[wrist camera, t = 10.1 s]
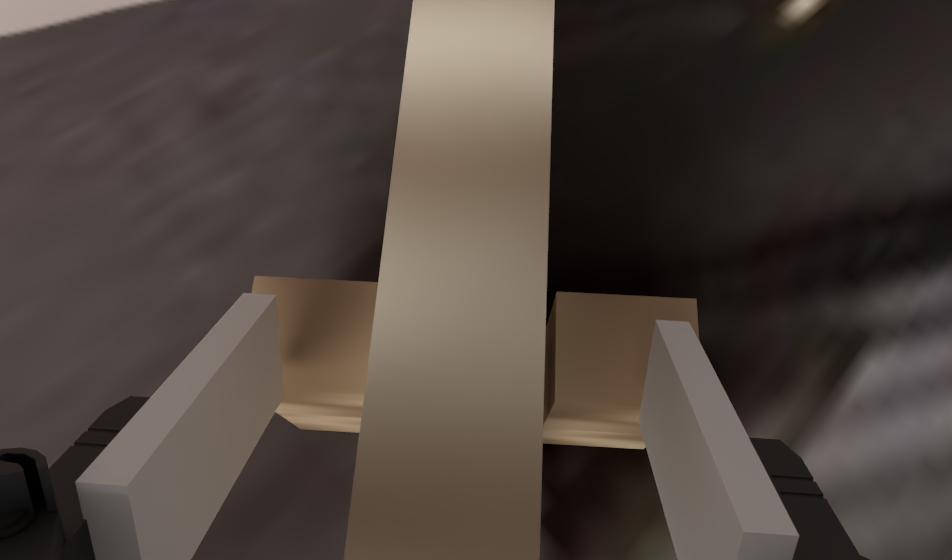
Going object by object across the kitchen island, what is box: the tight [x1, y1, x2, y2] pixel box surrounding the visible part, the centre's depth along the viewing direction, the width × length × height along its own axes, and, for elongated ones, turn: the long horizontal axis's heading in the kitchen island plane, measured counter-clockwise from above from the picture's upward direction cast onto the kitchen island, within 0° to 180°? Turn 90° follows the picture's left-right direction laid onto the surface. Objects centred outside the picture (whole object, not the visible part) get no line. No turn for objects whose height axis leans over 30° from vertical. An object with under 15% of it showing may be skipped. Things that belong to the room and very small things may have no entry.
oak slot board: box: [252, 276, 699, 449], centre depth 21 cm, size 12×3×7 cm, turn 87°
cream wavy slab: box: [344, 0, 555, 560], centre depth 17 cm, size 12×3×10 cm, turn 177°
